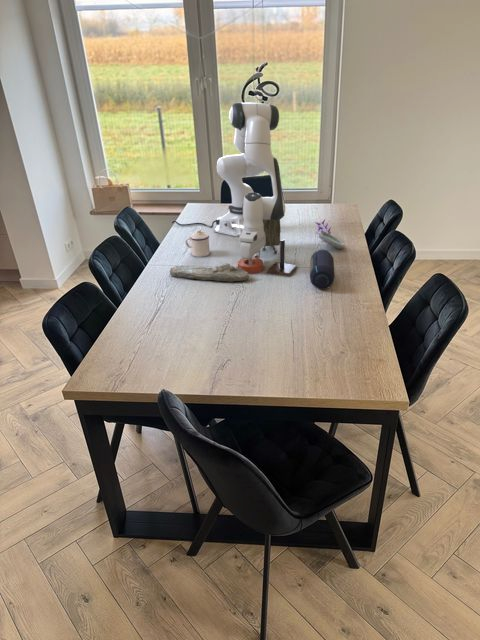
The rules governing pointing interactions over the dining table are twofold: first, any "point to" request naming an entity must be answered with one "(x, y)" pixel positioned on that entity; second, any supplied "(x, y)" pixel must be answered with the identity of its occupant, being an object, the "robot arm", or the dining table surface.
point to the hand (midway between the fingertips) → (254, 261)
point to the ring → (251, 268)
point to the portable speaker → (322, 269)
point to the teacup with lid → (199, 244)
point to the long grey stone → (211, 273)
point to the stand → (282, 263)
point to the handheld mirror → (328, 236)
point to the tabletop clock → (272, 233)
